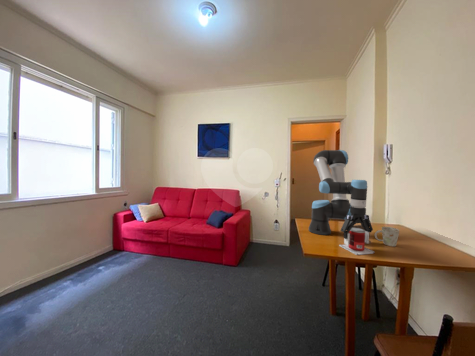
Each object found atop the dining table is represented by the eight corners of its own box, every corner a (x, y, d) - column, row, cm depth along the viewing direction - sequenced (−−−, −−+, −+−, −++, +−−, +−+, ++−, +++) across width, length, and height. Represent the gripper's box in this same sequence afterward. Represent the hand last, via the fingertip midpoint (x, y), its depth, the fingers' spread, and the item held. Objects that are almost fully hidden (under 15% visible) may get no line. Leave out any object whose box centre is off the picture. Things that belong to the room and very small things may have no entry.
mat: (339, 245, 107) (339, 244, 107) (355, 244, 110) (355, 243, 110) (356, 255, 96) (356, 253, 96) (374, 253, 98) (374, 251, 98)
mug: (402, 247, 107) (402, 231, 106) (378, 245, 109) (378, 229, 109) (392, 242, 115) (393, 227, 114) (370, 240, 117) (371, 225, 117)
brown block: (346, 241, 114) (346, 224, 114) (363, 240, 118) (364, 223, 117) (352, 244, 110) (353, 227, 109) (370, 243, 113) (371, 225, 113)
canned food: (366, 249, 102) (367, 230, 101) (360, 252, 97) (361, 232, 97) (352, 244, 108) (353, 226, 108) (345, 247, 104) (346, 228, 103)
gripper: (345, 208, 95) (343, 247, 96) (381, 207, 101) (379, 244, 102) (334, 205, 103) (333, 242, 103) (369, 205, 109) (367, 239, 109)
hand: (356, 243), depth 103 cm, fingers open, 13 cm apart
